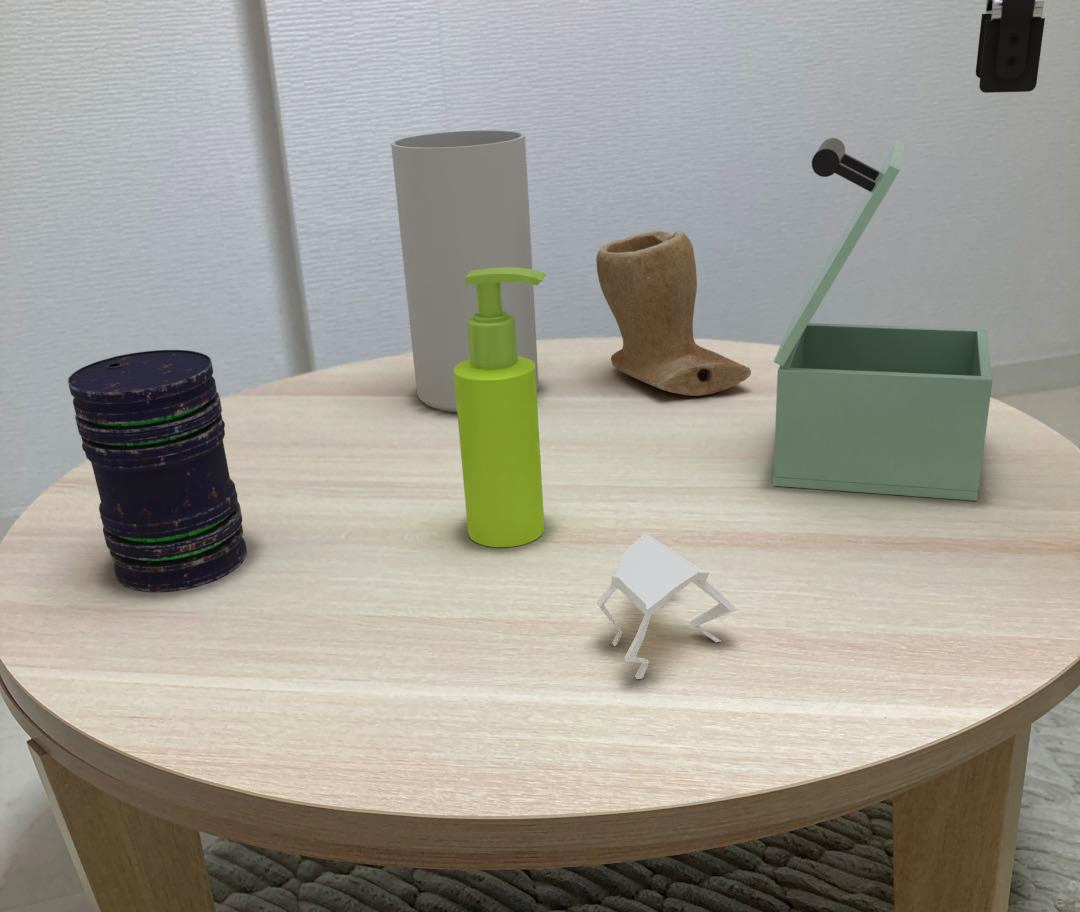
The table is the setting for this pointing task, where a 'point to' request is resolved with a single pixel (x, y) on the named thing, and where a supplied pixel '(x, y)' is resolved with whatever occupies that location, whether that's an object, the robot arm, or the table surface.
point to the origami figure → (658, 588)
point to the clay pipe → (660, 315)
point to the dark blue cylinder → (160, 468)
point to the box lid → (824, 165)
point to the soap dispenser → (499, 420)
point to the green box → (884, 410)
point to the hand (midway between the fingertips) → (1003, 83)
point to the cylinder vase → (461, 244)
